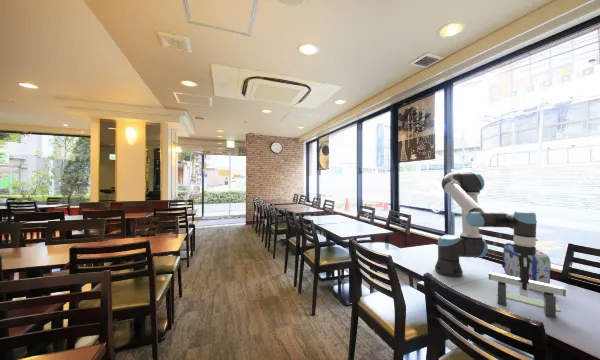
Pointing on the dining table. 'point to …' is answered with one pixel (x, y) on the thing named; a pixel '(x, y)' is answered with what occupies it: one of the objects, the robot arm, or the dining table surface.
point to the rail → (532, 284)
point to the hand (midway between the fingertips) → (523, 294)
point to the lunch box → (538, 264)
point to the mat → (527, 300)
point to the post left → (502, 293)
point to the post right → (550, 305)
